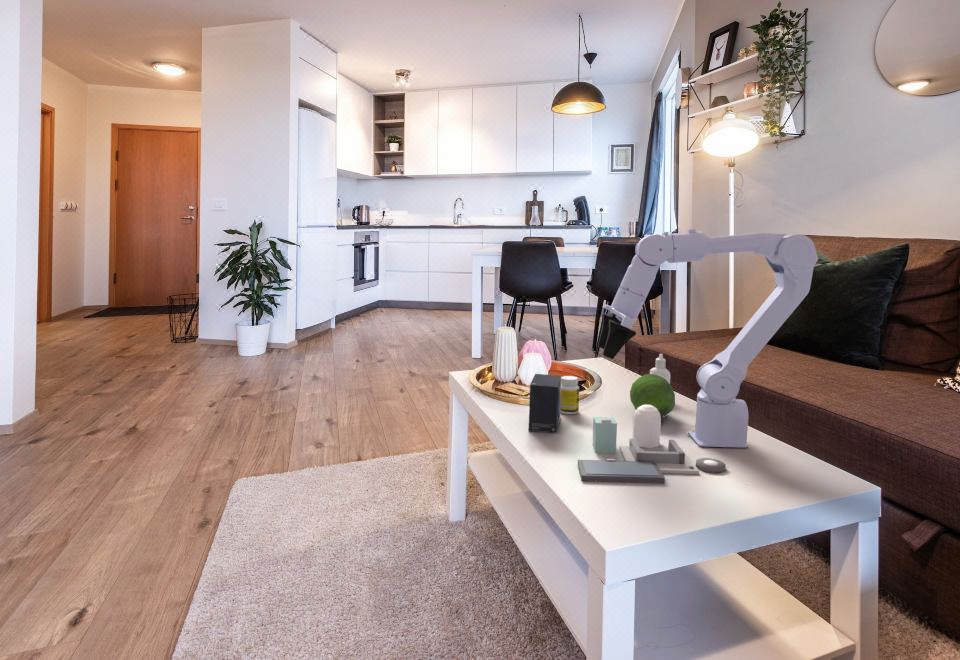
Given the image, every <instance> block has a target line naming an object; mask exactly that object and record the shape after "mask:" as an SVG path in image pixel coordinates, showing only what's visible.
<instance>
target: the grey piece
mask: <svg viewBox="0 0 960 660" xmlns="http://www.w3.org/2000/svg"><path fill="white" fill-rule="evenodd" d="M618 448H619V452H620V454H621V456H622V458H623V461H646V462H656V464H657V465H658V467H659V469H660V470H661V472H662V474H674V475H675V474H678V475H683V474H684V475H700V469H698V468H697V467H696V464H694V462H693V460H692V459H691V458H690V457H689V455H688V454H687V452H685V450H684V449H683V448H682V447H681V446H679V444H678V443H677V442H676V440H675V439H668V447H667V451H660V450H659V451H656V450H655V451H654V450H653V451H651V450H650V451H649V450H646V451H645V450H644V451H643V450H642V449H641V447H640V446H639V445H638V444H637V442H636V440H635V439H633V438H629V445H619V446H618Z"/></svg>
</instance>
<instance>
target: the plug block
mask: <svg viewBox="0 0 960 660" xmlns="http://www.w3.org/2000/svg"><path fill="white" fill-rule="evenodd" d="M592 419H593V420H592V421H593V423H592V447H593V450H594V453H597V454H599V453H600V454H617V438H618V437H617V435H618V433H617V431H618V428H617V427H618V423H617V420H616V418H615V417H614V416H593V417H592Z"/></svg>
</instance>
